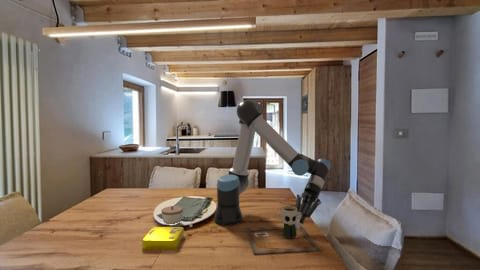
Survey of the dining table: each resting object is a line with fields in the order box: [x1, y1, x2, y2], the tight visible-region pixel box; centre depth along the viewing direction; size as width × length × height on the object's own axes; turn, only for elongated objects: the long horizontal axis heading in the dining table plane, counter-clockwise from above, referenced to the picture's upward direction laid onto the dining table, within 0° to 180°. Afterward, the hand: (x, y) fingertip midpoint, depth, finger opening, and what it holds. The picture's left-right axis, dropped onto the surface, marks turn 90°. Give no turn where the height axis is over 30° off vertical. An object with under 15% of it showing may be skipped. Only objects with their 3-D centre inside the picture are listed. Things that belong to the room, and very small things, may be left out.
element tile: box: [141, 226, 185, 251], centre depth 123 cm, size 15×15×5 cm
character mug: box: [277, 205, 301, 239], centre depth 127 cm, size 11×7×13 cm, turn 91°
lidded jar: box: [161, 205, 184, 225], centre depth 143 cm, size 11×11×9 cm
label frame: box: [245, 225, 323, 256], centre depth 124 cm, size 28×25×1 cm
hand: (295, 228), depth 130 cm, fingers closed
